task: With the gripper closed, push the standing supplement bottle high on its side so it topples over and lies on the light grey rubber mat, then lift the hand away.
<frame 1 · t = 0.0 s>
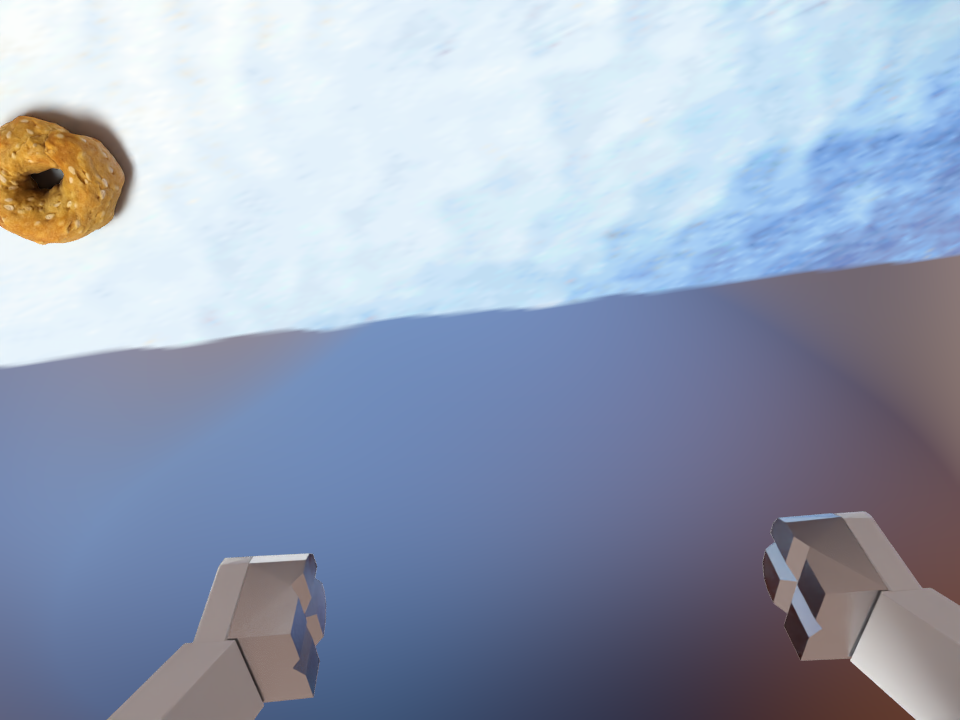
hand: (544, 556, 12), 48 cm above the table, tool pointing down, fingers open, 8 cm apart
bagel: (61, 172, 56), on the table
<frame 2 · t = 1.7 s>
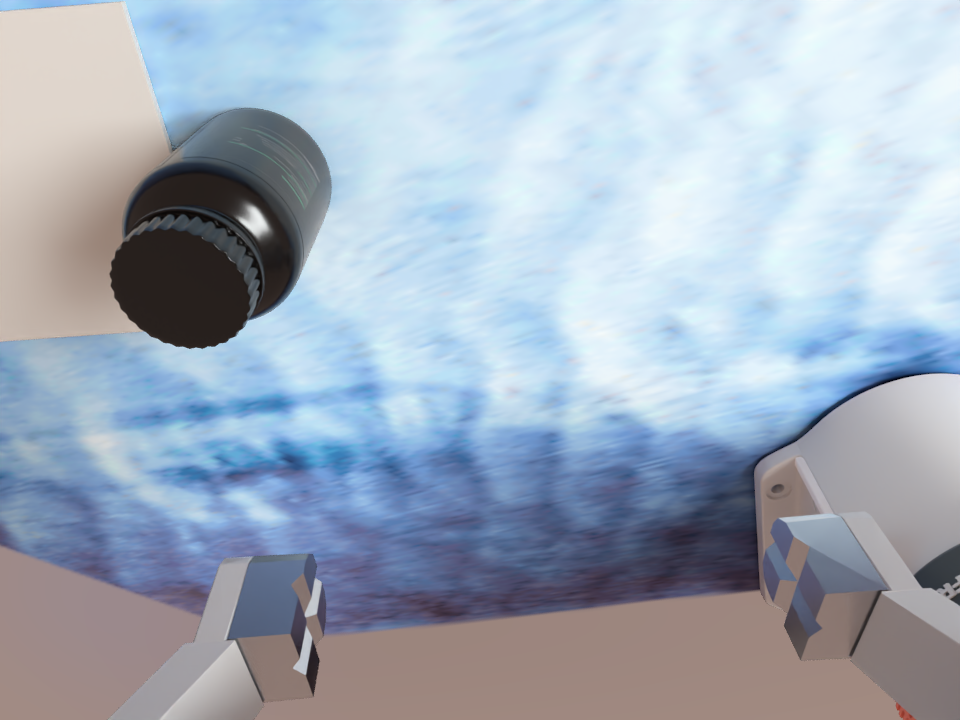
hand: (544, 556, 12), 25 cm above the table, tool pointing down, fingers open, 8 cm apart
supplement bottle: (264, 175, 34), on the table
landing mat: (53, 192, 34), on the table
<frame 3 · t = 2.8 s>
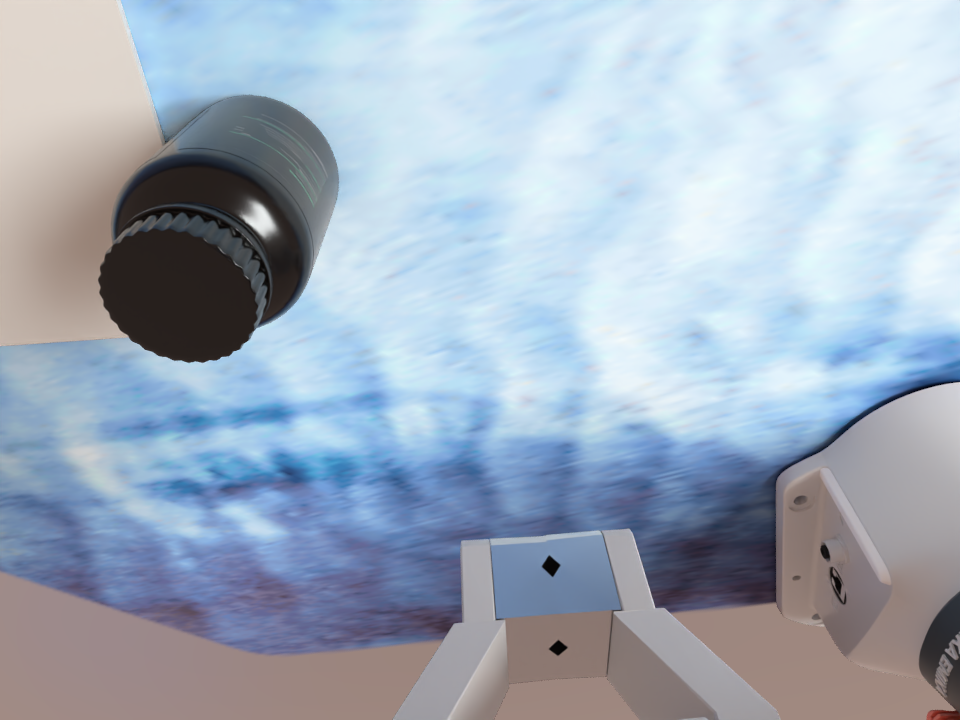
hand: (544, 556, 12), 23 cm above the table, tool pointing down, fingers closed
supplement bottle: (265, 169, 31), on the table
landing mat: (33, 186, 31), on the table
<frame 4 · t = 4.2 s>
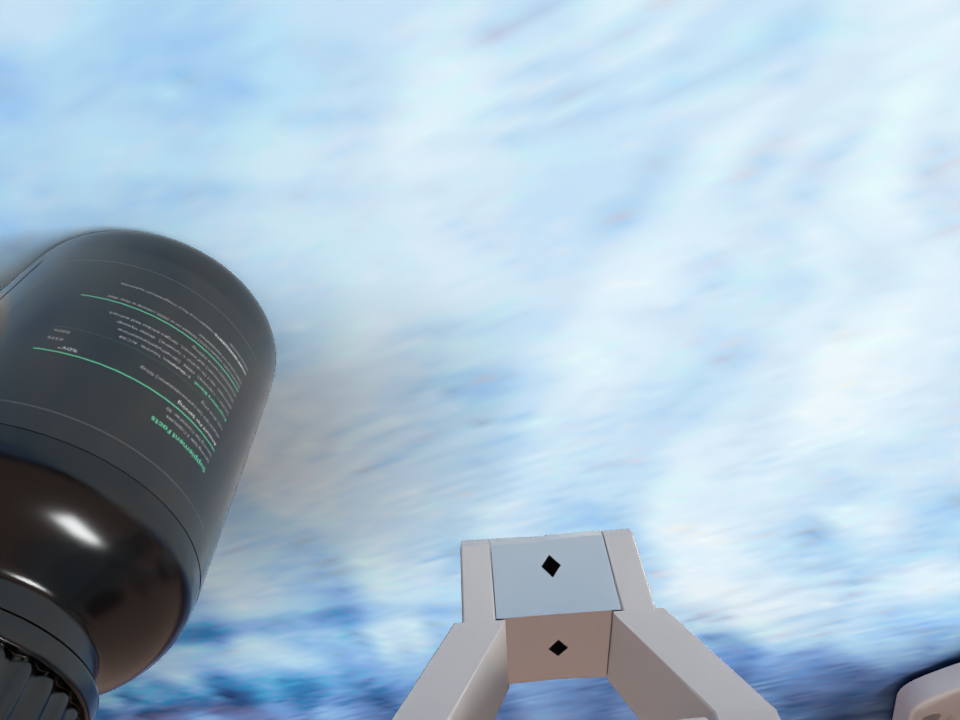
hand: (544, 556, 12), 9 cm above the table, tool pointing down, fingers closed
supplement bottle: (159, 331, 19), on the table
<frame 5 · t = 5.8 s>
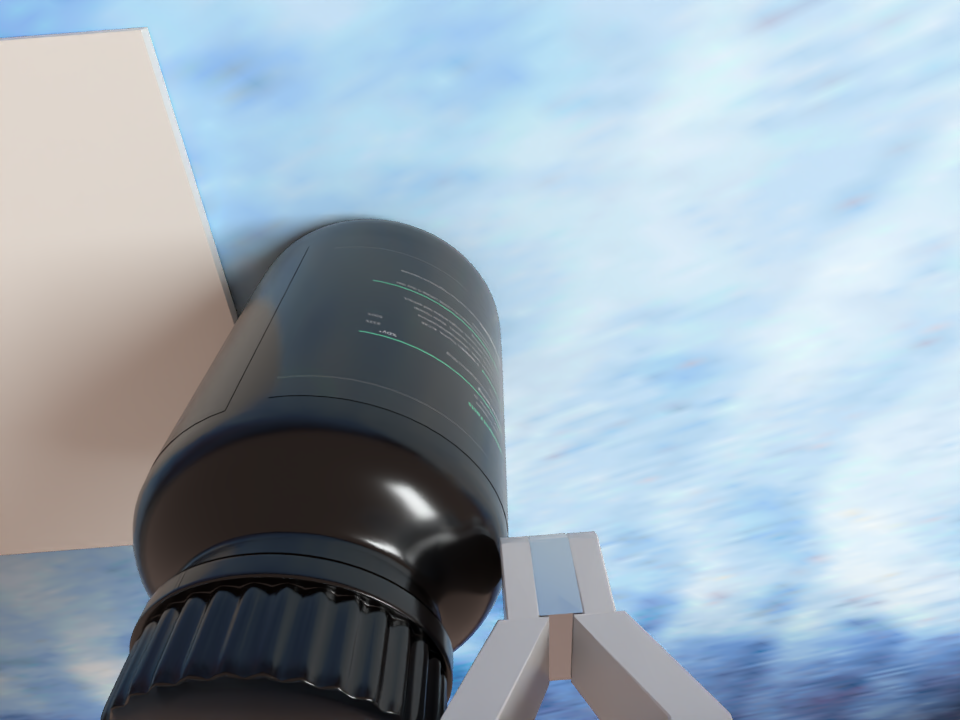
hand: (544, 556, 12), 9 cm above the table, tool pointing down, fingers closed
supplement bottle: (382, 320, 19), on the table, touching gripper
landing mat: (16, 350, 19), on the table
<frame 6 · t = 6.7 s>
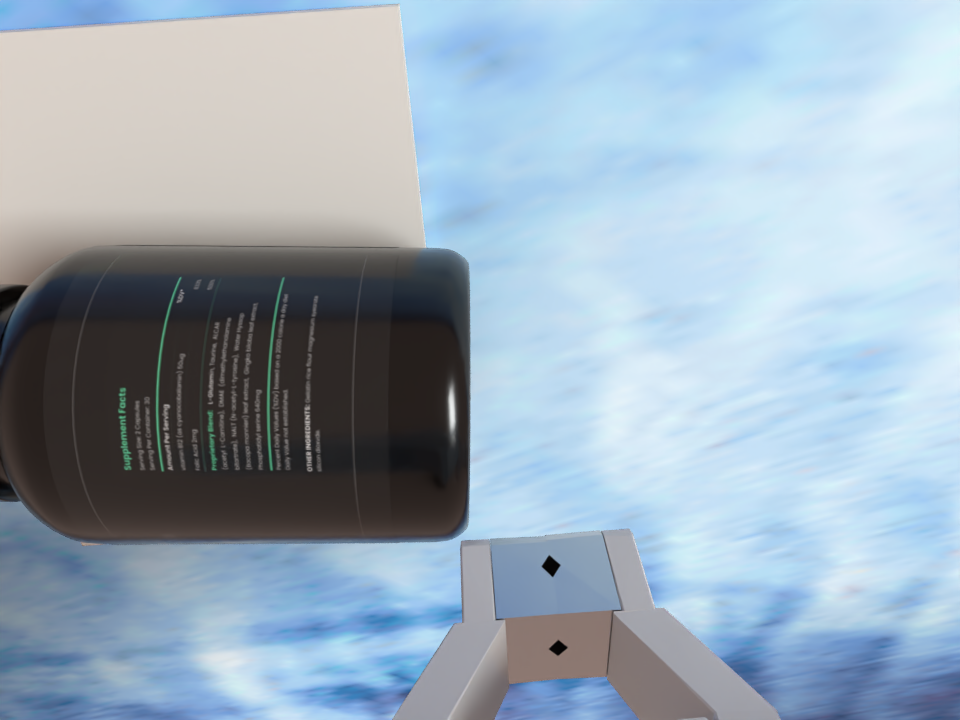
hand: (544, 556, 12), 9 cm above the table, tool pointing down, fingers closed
supplement bottle: (476, 393, 16), point 4 cm above the table, touching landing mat
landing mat: (207, 332, 19), on the table
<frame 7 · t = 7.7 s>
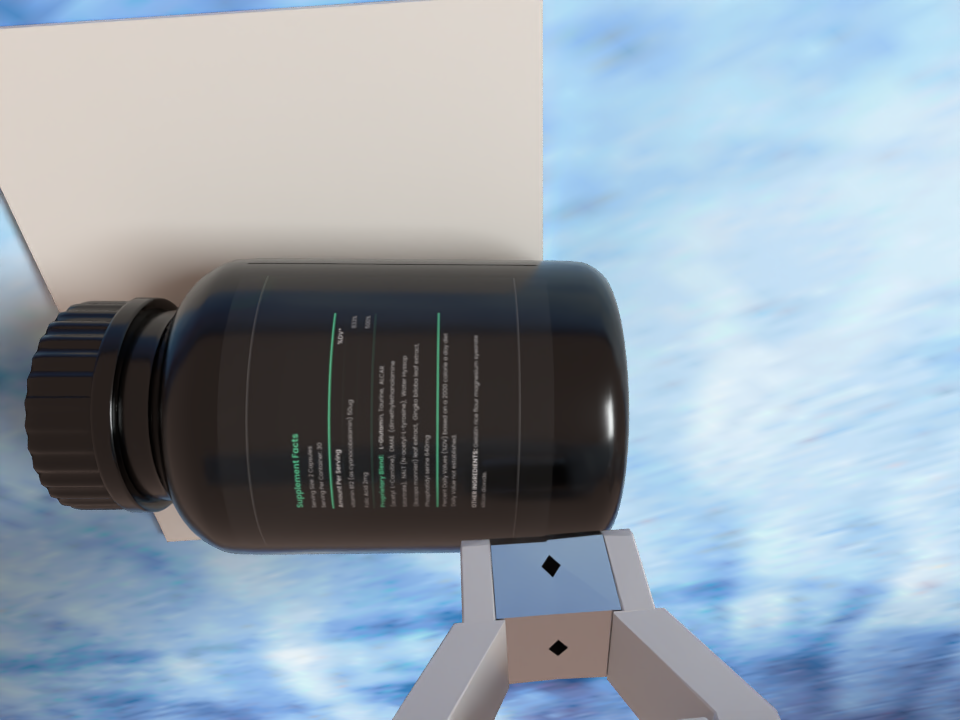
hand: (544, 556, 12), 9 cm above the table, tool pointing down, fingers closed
supplement bottle: (603, 403, 16), point 4 cm above the table, touching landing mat
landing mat: (312, 325, 19), on the table
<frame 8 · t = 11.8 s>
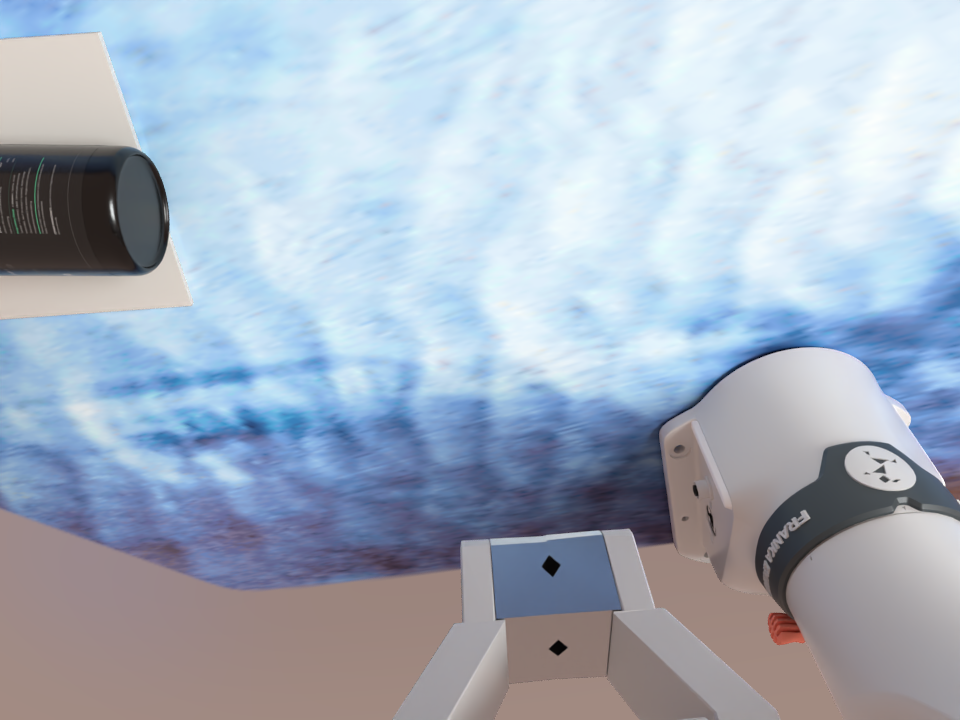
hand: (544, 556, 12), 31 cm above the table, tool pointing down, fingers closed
supplement bottle: (149, 212, 36), point 4 cm above the table, touching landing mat
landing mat: (40, 190, 39), on the table
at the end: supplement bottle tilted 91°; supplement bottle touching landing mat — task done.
